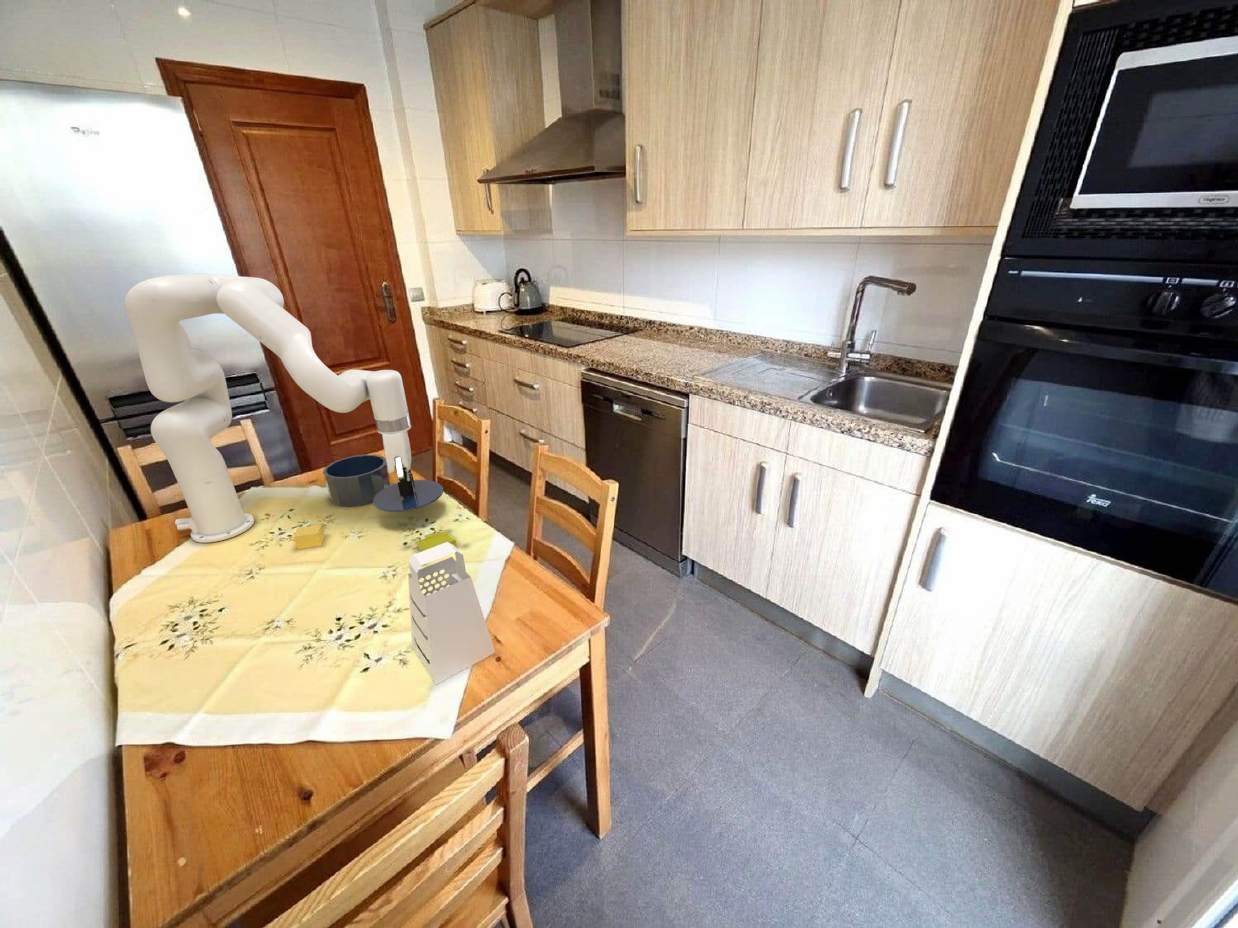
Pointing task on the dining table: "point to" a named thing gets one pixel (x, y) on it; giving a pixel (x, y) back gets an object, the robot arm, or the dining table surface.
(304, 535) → the cheese
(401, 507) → the lid
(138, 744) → the dining table surface
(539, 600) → the dining table surface
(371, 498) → the pot
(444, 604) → the grater
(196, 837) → the dining table surface
